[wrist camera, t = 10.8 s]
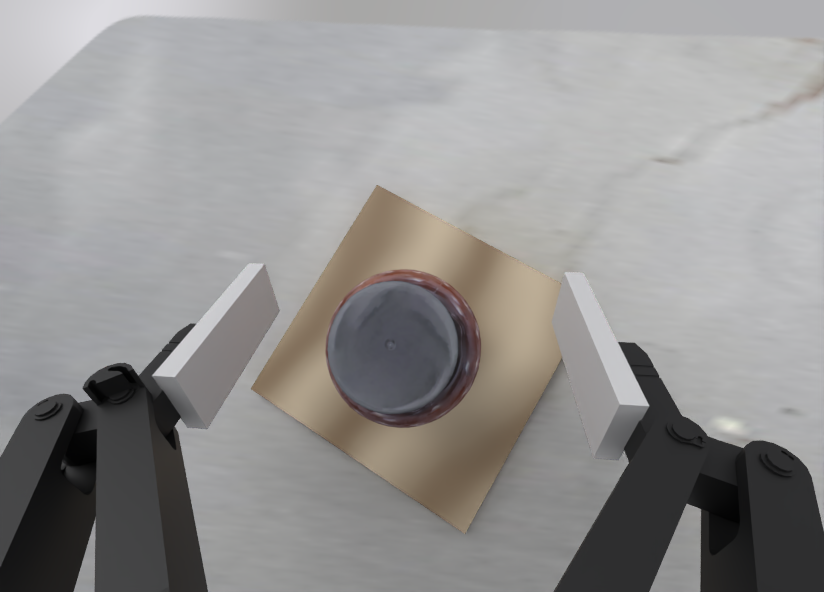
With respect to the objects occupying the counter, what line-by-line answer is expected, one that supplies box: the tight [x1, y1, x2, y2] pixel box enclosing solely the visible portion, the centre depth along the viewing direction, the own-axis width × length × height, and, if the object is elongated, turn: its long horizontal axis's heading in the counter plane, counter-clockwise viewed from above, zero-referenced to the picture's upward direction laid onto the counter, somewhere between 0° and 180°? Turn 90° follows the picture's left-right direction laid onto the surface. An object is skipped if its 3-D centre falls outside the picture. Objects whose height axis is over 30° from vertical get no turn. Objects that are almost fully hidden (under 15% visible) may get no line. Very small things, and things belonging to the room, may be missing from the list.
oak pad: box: [251, 185, 562, 534], centre depth 22 cm, size 15×15×1 cm
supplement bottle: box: [325, 269, 481, 428], centre depth 16 cm, size 6×6×11 cm
